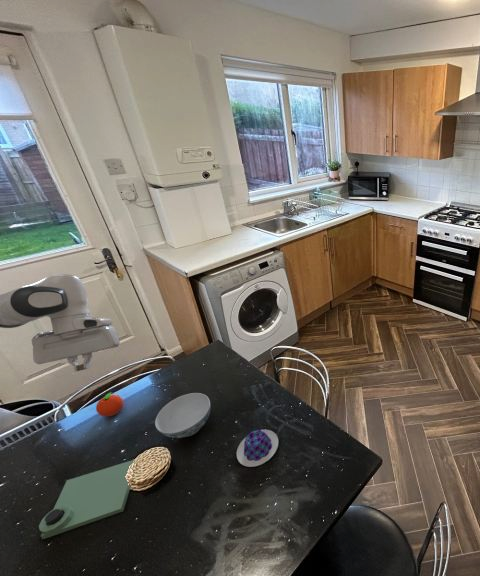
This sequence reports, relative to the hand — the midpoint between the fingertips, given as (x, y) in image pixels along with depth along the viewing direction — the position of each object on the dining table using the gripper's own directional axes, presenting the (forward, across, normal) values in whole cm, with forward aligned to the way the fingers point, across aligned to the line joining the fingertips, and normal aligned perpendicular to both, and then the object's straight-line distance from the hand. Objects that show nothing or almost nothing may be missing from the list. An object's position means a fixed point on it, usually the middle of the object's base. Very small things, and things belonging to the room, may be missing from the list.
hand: (82, 370), depth 96 cm
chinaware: (+26, +26, -2) cm, 37 cm away
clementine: (+17, 0, +11) cm, 20 cm away
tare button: (+34, -1, -20) cm, 39 cm away
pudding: (+36, +46, -15) cm, 60 cm away
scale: (+34, +5, -15) cm, 37 cm away
